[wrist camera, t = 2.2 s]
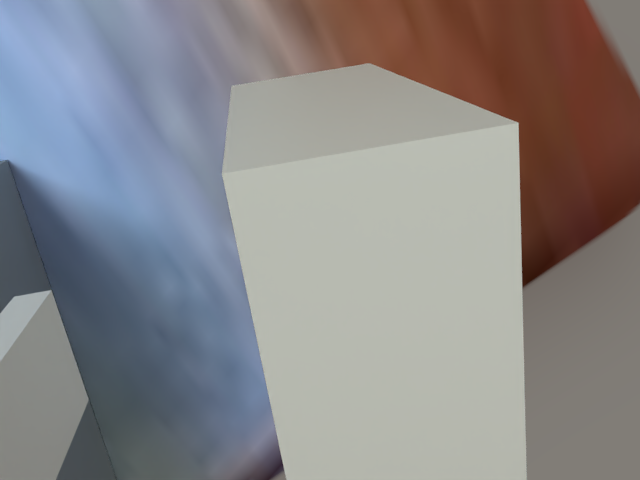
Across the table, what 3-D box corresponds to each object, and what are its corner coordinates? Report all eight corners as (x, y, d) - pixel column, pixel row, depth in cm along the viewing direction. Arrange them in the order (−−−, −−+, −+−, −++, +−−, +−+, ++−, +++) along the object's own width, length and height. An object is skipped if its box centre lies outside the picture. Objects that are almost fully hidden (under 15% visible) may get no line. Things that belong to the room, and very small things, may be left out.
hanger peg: (247, 265, 26) (257, 617, 11) (207, 71, 23) (145, 187, 8) (385, 240, 26) (581, 546, 11) (364, 46, 23) (589, 110, 8)
